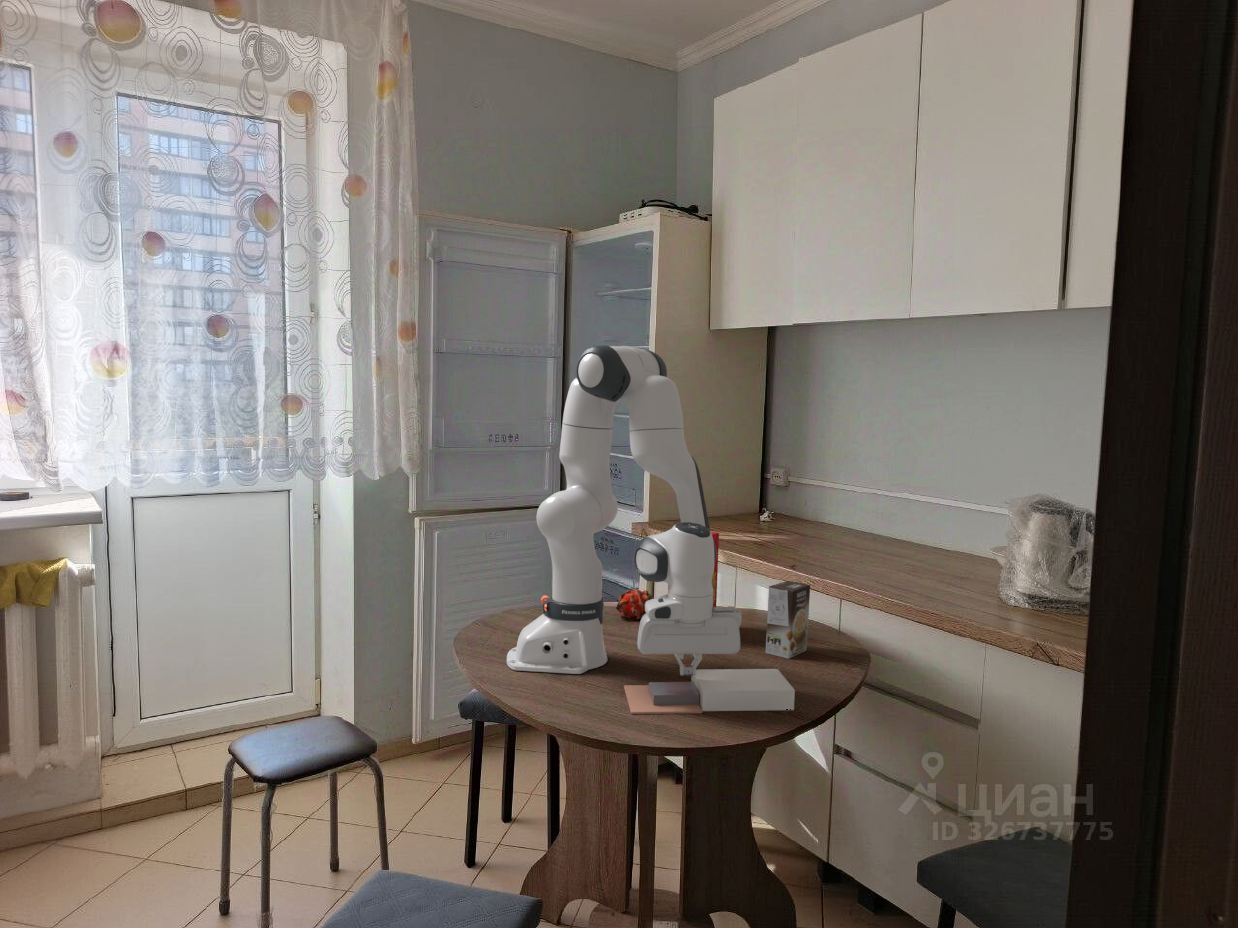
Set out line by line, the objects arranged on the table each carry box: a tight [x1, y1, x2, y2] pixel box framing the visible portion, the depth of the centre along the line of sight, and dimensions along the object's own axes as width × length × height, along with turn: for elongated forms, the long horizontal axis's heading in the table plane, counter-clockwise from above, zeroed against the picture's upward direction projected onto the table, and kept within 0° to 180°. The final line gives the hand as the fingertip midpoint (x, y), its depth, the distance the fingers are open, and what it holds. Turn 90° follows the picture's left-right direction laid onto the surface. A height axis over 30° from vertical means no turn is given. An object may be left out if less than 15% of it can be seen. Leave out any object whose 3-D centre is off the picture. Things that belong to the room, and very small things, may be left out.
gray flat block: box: [648, 681, 700, 705], centre depth 165 cm, size 9×7×2 cm
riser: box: [690, 668, 796, 712], centre depth 167 cm, size 18×12×4 cm, turn 95°
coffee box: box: [765, 580, 811, 660], centre depth 196 cm, size 9×6×16 cm
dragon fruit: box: [615, 587, 654, 620], centre depth 223 cm, size 8×8×12 cm
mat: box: [623, 684, 703, 715], centre depth 165 cm, size 14×14×1 cm
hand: (687, 674), depth 165 cm, fingers closed
